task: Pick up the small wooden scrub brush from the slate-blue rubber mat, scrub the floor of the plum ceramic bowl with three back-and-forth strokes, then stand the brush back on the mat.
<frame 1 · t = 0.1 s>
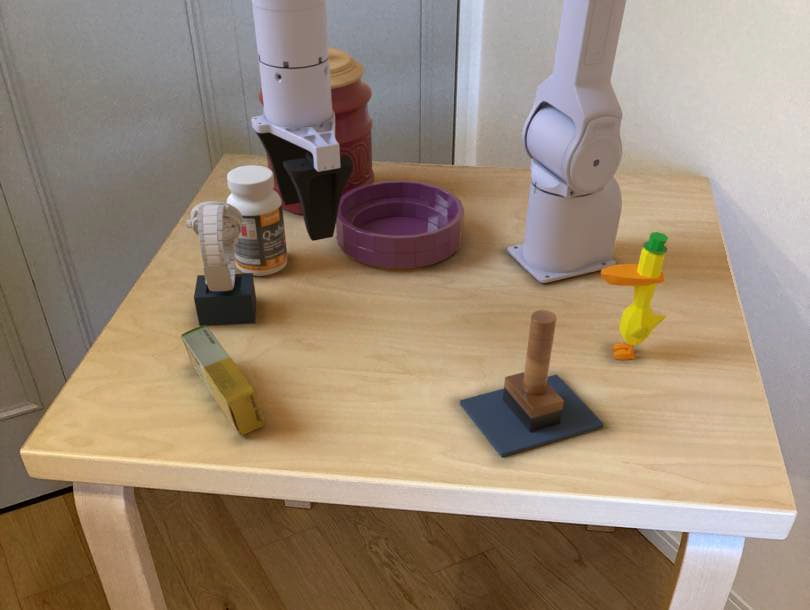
hand: (307, 219, 78), 10 cm above the table, tool pointing down, fingers open, 7 cm apart
brush: (530, 411, 73), resting on mat
kitchen canister: (322, 196, 104), on the table
mat: (530, 415, 74), on the table
watch: (228, 314, 85), on the table
pill bottle: (262, 266, 92), on the table
medication box: (226, 400, 75), on the table
toy figure: (621, 355, 80), on the table
bowl: (399, 241, 96), on the table
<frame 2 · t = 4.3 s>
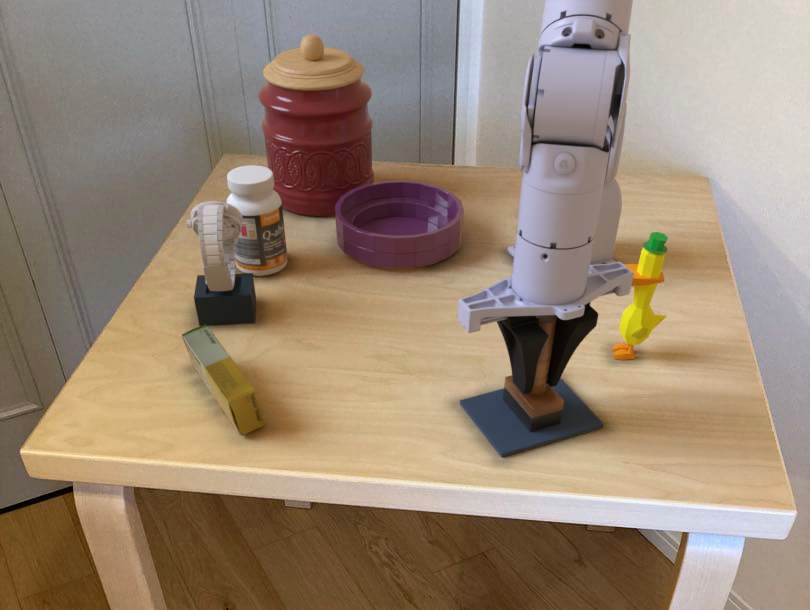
hand: (534, 383, 71), 3 cm above the table, tool pointing down, fingers closed on brush, 2 cm apart
brush: (531, 411, 73), resting on mat, touching gripper
everything else where it was.
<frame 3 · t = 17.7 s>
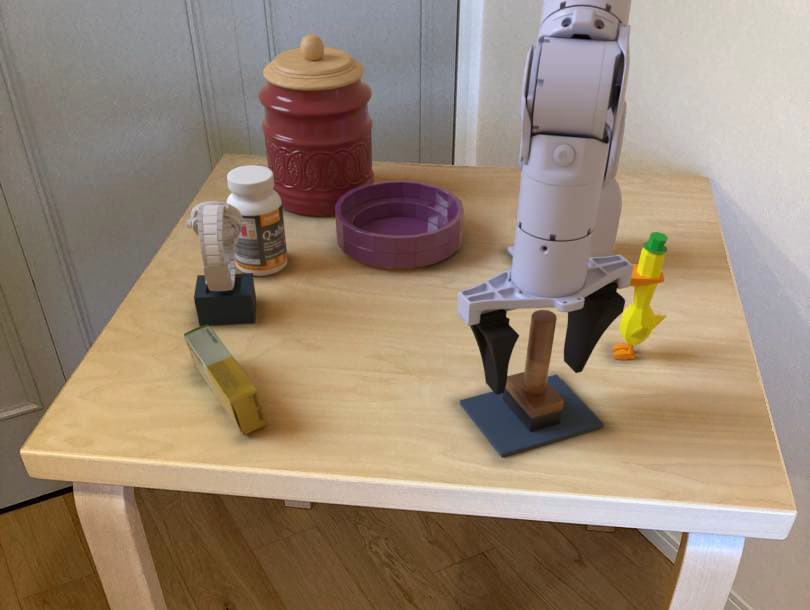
hand: (534, 376, 71), 4 cm above the table, tool pointing down, fingers open, 7 cm apart
brush: (530, 411, 73), resting on mat
everything else where it was.
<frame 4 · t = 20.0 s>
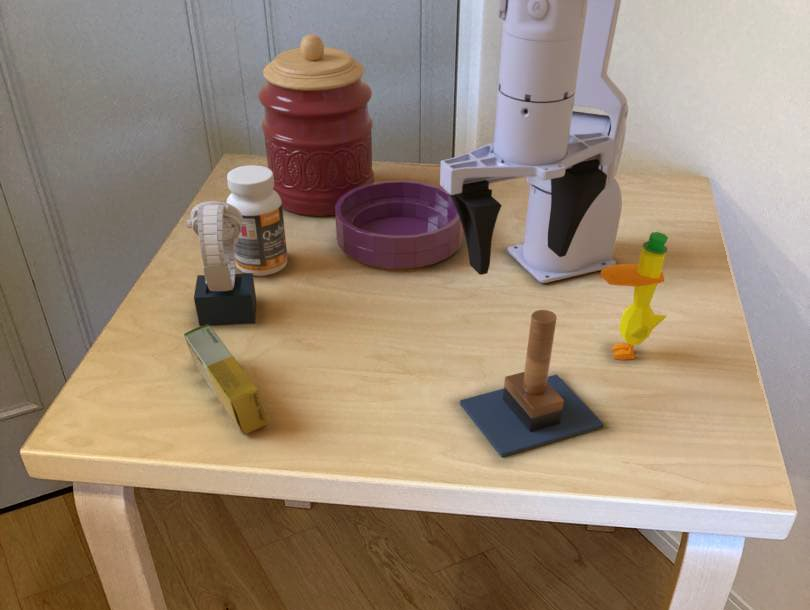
hand: (518, 260, 72), 10 cm above the table, tool pointing down, fingers open, 7 cm apart
nothing on the table moved.
at the end: brush 0.0 cm off-centre on the mat, point 0.4 cm above the mat's base; brush tilted 0°; brush touching mat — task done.
